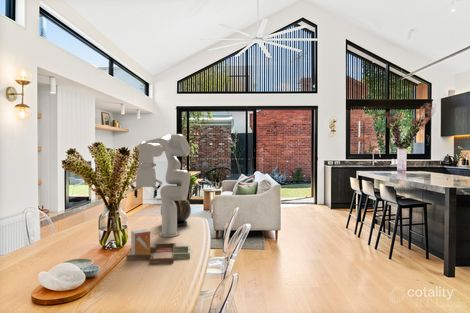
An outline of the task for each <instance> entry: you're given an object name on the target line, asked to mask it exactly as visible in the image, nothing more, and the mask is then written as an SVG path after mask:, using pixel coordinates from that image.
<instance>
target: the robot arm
mask: <svg viewBox="0 0 470 313" xmlns="http://www.w3.org/2000/svg"><path fill="white" fill-rule="evenodd" d="M190 146H191V145H190V144H189V142H188V140H187V139H186V137H185V136H184V135H183V134H181V133H169V134H168V133H167V134H164V135H162V136H161V137H157V138H153V139H149V140H148V139H147V140H144V141H141V142H140V143H139V144H138V145H137V147H136V149H137V148H139V149H138V150H139V155H138V168H137V169H136V175H135V178H134V179H133V180H131V181H129V182H128V184H129V186H130V187H131V189H132V190H133V191H134V192H133V196H134V197H135V199H137V198H138V196H139V195H138V194H139V193H138V189H139V188H153V198H154V199H156V198H157V196H158V190H159V189H160V192H159V195H160V199H161V200H160V201H161V206H162V215H161V231H159V236H160V237H163V238H164V237H165V238H171V237H172V238H173V237H177V236H179V235H180V231H178V227H177V206H176V204H175V202H174V200H175V201H184V200H186V199H187V200H188V194H189V188H190V183H191V174H190V172H189V171H188V170H184V169H181V167H182V164H181V161H180V160H179V159H178V158H177V157H188V156H189V155H190V153H191V147H190ZM163 153H164V154H165V157H166V161H167V168H166V173H165V183H166V184H167V185H163V186H162V184H163V182H162V180H159V179H158V178H156V175H157V174H156V168H154V167H156V166H157V163H154V157H155V158H156V157H160V156H162V155H163ZM141 163H142V164H141ZM132 181H133V182H132ZM134 183H135V186H134ZM157 184H158V185H157ZM156 185H157V186H156ZM176 185H178V186H176ZM161 186H162V187H161Z"/></svg>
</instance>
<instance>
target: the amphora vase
mask: <svg viewBox="0 0 470 313" xmlns="http://www.w3.org/2000/svg"><path fill="white" fill-rule="evenodd" d="M175 186H179V185H175ZM174 202H175V204H176V206H177V228H178V227H185V226H186V225H188V221H187V220H188V219H189V218H190V217H191V213H192V208H191V203H190V201H189V200H188V198H187V199H186V200H184V201H175V200H174ZM160 215H161V216H162V205H161V208H160ZM184 225H185V226H184Z"/></svg>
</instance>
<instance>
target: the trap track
mask: <svg viewBox="0 0 470 313" xmlns="http://www.w3.org/2000/svg"><path fill="white" fill-rule="evenodd" d="M163 252H164V253H165V252H169V253H170V252H172V253H171V257H154V253H163ZM177 252H178V253H177ZM125 258H126V259H125V261H126V262H130V261H131V262H133V261H149V265H161V264H163V265H164V264H165V265H166V264H174V260H179V259H180V260H181V259H191V246H190V245H179V246H177V245H176V242H174V243H173V242H172V243H171V242H169V243H165V242H164V243H155V244H154V246H152V247H151V246H150V254H145V255H131V254H129V255H128V254H127V255H126V257H125Z"/></svg>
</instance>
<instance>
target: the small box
mask: <svg viewBox="0 0 470 313" xmlns="http://www.w3.org/2000/svg"><path fill="white" fill-rule="evenodd" d="M130 233H131V234H130V238H131V240H130V241H131V243H130V244H131V245H130V246H131V247H130V255H145V254H151V253H150V247H151V231H150V230H149V229H147V228H144V229H136V230H131V231H130Z"/></svg>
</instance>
